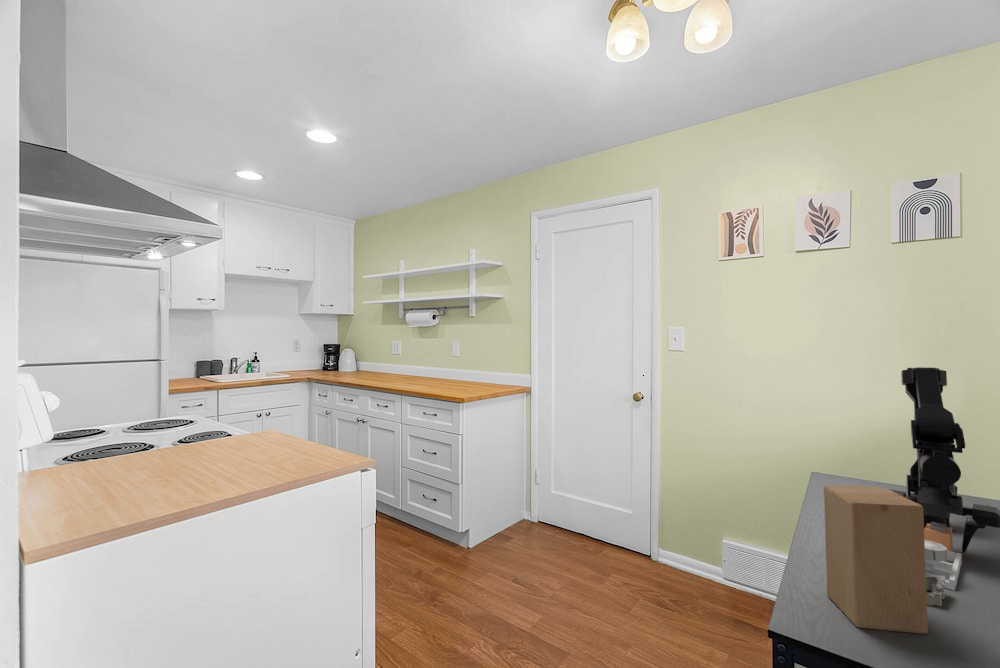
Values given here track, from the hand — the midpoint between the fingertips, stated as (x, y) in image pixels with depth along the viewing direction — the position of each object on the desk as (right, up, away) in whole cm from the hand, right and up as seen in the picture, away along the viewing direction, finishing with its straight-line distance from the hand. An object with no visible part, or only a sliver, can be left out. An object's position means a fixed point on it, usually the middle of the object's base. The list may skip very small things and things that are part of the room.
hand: (938, 546), depth 101 cm
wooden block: (-33, -1, -23) cm, 40 cm away
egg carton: (-21, -1, -15) cm, 26 cm away
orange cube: (0, -1, 0) cm, 1 cm away
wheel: (-12, +3, -10) cm, 16 cm away
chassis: (-9, -1, -8) cm, 12 cm away
